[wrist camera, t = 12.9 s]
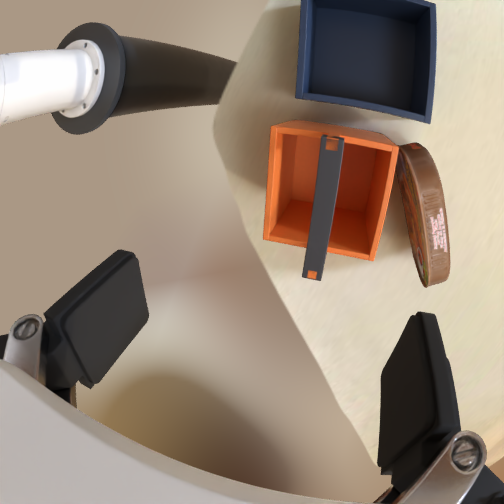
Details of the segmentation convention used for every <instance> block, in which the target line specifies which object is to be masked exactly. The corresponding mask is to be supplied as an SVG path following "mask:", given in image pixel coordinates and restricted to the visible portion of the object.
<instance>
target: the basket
mask: <svg viewBox="0 0 504 504" xmlns="http://www.w3.org/2000/svg"><path fill="white" fill-rule="evenodd" d="M398 150H399V147H398V146H397V145H396V144H394V143H393V142H392V141H391V140H389V139H388V138H387V137H386V136H384V135H383V134H380V133H376V132H371V131H366V130H361V129H355V128H350V127H344V126H338V125H332V124H325V123H318V122H311V121H303V120H291V121H288V122H284V123H280V124H277V125H273V126H271V132H270V147H269V162H268V176H267V191H266V205H265V219H264V232H263V240H269V241H274V242H279V243H284V244H289V245H294V246H300V247H305V248H306V255H305V261H304V267H303V273H302V277H303V278H308V279H313V280H318V281H321V278H322V273H323V268H324V264H325V259H326V254H327V252H330V253H335V254H340V255H345V256H350V257H355V258H360V259H365V260H370V261H374V258H375V255H376V251H377V247H378V243H379V240H380V236H381V232H382V228H383V224H384V220H385V215H386V211H387V207H388V202H389V198H390V193H391V188H392V183H393V178H394V173H395V167H396V162H397V156H398Z"/></svg>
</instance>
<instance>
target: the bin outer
mask: <svg viewBox="0 0 504 504" xmlns="http://www.w3.org/2000/svg"><path fill="white" fill-rule="evenodd" d="M436 49H437V22H436V4H434V3H431V2H428V1H424V0H301V9H300V30H299V48H298V65H297V80H296V94H295V98H296V99H303V100H310V101H318V102H325V103H332V104H339V105H345V106H351V107H357V108H362V109H367V110H372V111H377V112H382V113H386V114H391V115H395V116H399V117H403V118H407V119H411V120H415V121H419V122H423V123H428V124H430V123H431V115H432V107H433V98H434V87H435V73H436Z"/></svg>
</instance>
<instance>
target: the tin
mask: <svg viewBox="0 0 504 504" xmlns="http://www.w3.org/2000/svg"><path fill="white" fill-rule="evenodd" d="M397 146H398V147H399V150H398V156H397V162H396V171H397V176H398V181H399V185H400V190H401V194H402V199H403V204H404V209H405V215H406V220H407V226H408V232H409V238H410V243H411V248H412V253H413V257H414V261H415V264H416V268H417V271H418V274H419V277H420V280H421V282H422V284H423V286H424V287H425V288H427V287H428V286H431V285H435V284H439V283H442V282H444V281H446V280H447V279H448V276H449V273H450V246H449V234H448V224H447V215H446V208H445V201H444V194H443V189H442V184H441V180H440V177H439V173H438V170H437V168H436V165H435V163H434V161H433V159H432V157H431V155H430V153H429V152H428V150H427V149H426V148H425V147H423V146H422V145H421V144H419V143H410V144H406V145H401V146H399V145H397Z"/></svg>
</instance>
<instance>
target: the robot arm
mask: <svg viewBox="0 0 504 504" xmlns="http://www.w3.org/2000/svg"><path fill="white" fill-rule="evenodd" d="M104 72H105V66H104V59H103V54H102V52H101V50H100V48H99V47H98V45H97V44H95V43H94V42H93V41H90V40H77V41H74V42H72V43H71V44H69V45H68V46H67V47H66V48H65V49H55V50H38V51H25V52H15V53H7V54H0V126H2V125H6V124H9V123H12V122H16V121H19V120H23V119H27V118H30V117H34V116H38V115H42V114H47V113H51V112H56V111H59V112H60V113H61V114H62V115H64V116H66V117H69V118H74V117H79V116H82V115H84V114H85V113H87V112H88V111H89V110H90V109H91V108H92V107H93V106H94V104H95V102H96V101H97V99H98V97H99V94H100V92H101V89H102V86H103V81H104ZM44 316H45V318H46V321H45V322H44V323H43V320H42V318H41V317H39V316H38V315H35V314H29V315H25V316H23V317H21V318H19V319H18V320H17V321H15V323H14V324H13V325H12V327H11V329H10V332H9V334H6V335H1V336H0V504H504V483H503V482H502V481H501V480H500V479H499V478H498V477H497V476H496V475H495V474H494V473H493V472H492V471H491V470H490V469H489V468H488V467H487V466H486V465H485V461H486V456H487V450H486V445H485V443H484V441H483V439H482V438H481V437H480V436H479V435H478V434H476V433H474V432H472V431H467V430H466V431H461V426H460V418H459V411H458V404H457V398H456V392H455V387H454V381H453V376H452V371H451V367H450V363H449V360H448V358H447V357H446V353H445V349H444V345H443V341H442V337H441V333H440V329H439V326H438V322H437V319H436V316H435V314H431V313H425V312H417V313H416V315H412V316H411V317H410V318H409V320H408V322H407V324H406V327H405V329H404V331H403V333H402V335H401V337H400V339H399V341H398V343H397V344H396V346H395V348H394V350H393V352H392V354H391V356H390V358H389V359H388V361H387V363H386V365H385V367H384V368H383V371H382V374H381V407H380V432H379V447H378V459H377V464H378V466H379V467H381V475H392V479H391V484H392V485H391V486H390V487H389V488H388V489H387V490H386V491H385V492H384V493H383V494H382V495H381V496H380V497H379V498H378V499H377V500H376V501H374V502H373V503H359V502H346V501H336V500H328V499H320V498H313V497H307V496H301V495H295V494H289V493H284V492H279V491H274V490H270V489H265V488H261V487H256V486H252V485H249V484H245V483H242V482H238V481H234V480H230V479H228V478H225V477H221V476H218V475H215V474H212V473H209V472H206V471H203V470H200V469H198V468H195V467H192V466H190V465H187V464H184V463H182V462H179V461H177V460H174V459H172V458H169V457H167V456H164V455H162V454H160V453H158V452H156V451H153V450H151V449H149V448H147V447H144V446H143V445H141V444H139V443H137V442H135V441H133V440H131V439H129V438H127V437H125V436H123V435H121V434H119V433H117V432H115V431H114V430H112V429H110V428H108V427H106V426H104V425H103V424H101V423H99V422H98V421H96V420H94V419H93V418H91V417H89V416H87V415H86V414H84V413H83V412H81V411H80V410H78V409H77V405H76V382H77V381H78V380H79V381H80V383H81V384H83V385H85V386H86V387H88V388H90V389H91V388H92V387H93V386H94V384H97V383H99V382H100V381H101V380H102V378H103V377H104V376H105V374H106V373H107V372H108V370H109V369H110V368H111V367H112V365H113V364H114V363H115V362H116V360H117V359H118V358H119V356H120V355H121V354H122V353H123V351H124V350H125V349H126V348H127V346H128V345H129V344H130V343H131V341H132V340H133V339H134V338H135V336H136V335H137V334H138V333H139V331H140V330H141V329H142V327H143V326H144V325H145V324H146V323H147V321H148V318H149V312H148V307H147V303H146V298H145V293H144V288H143V283H142V278H141V273H140V267H139V261H138V259H137V258H136V256H135V254H134V253H132V252H129V251H124V250H117V251H116V252H115V253H113V254H112V255H111V256H110V257H108V258H107V259H106V260H105V261H103V262H102V263H101V264H100V265H99V266H97V267H96V268H95V269H94V270H92V271H91V272H90V273H89V274H88V275H87V276H85V277H84V278H83V279H82V280H81V281H80V282H78V283H77V284H76V285H75V286H74V287H73V288H71V289H70V290H69V291H68V292H67V293H66V294H65V295H63V297H61V298H60V299H59V300H58V301H57V302H56V303H55V304H53V305H52V306H51V307H50V308H49V309H48V310H47V311H46V312H45V313H44Z"/></svg>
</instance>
